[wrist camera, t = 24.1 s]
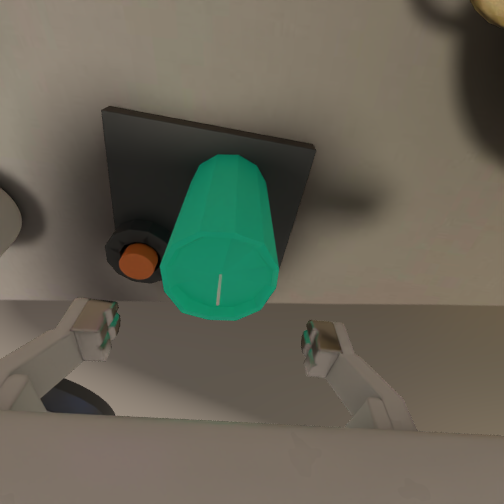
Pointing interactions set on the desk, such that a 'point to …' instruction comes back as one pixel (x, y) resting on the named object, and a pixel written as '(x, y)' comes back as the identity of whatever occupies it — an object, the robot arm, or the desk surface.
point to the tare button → (138, 261)
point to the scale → (187, 176)
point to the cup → (8, 221)
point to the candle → (222, 243)
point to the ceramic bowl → (490, 11)
